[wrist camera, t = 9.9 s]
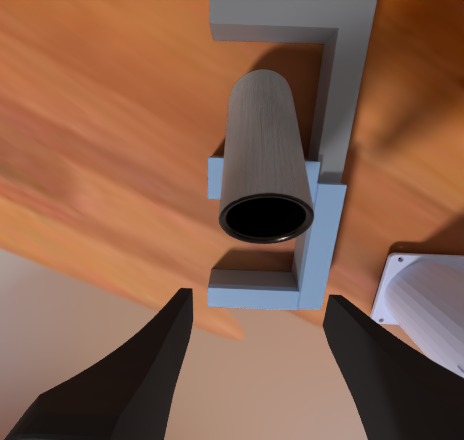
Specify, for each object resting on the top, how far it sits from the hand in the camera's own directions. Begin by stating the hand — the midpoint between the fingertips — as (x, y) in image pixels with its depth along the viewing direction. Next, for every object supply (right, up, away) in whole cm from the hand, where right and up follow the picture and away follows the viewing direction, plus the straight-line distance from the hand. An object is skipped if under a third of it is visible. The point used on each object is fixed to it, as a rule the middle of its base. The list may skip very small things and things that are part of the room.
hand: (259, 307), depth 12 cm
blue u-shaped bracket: (+2, +3, +7) cm, 8 cm away
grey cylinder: (+1, +13, +5) cm, 14 cm away
